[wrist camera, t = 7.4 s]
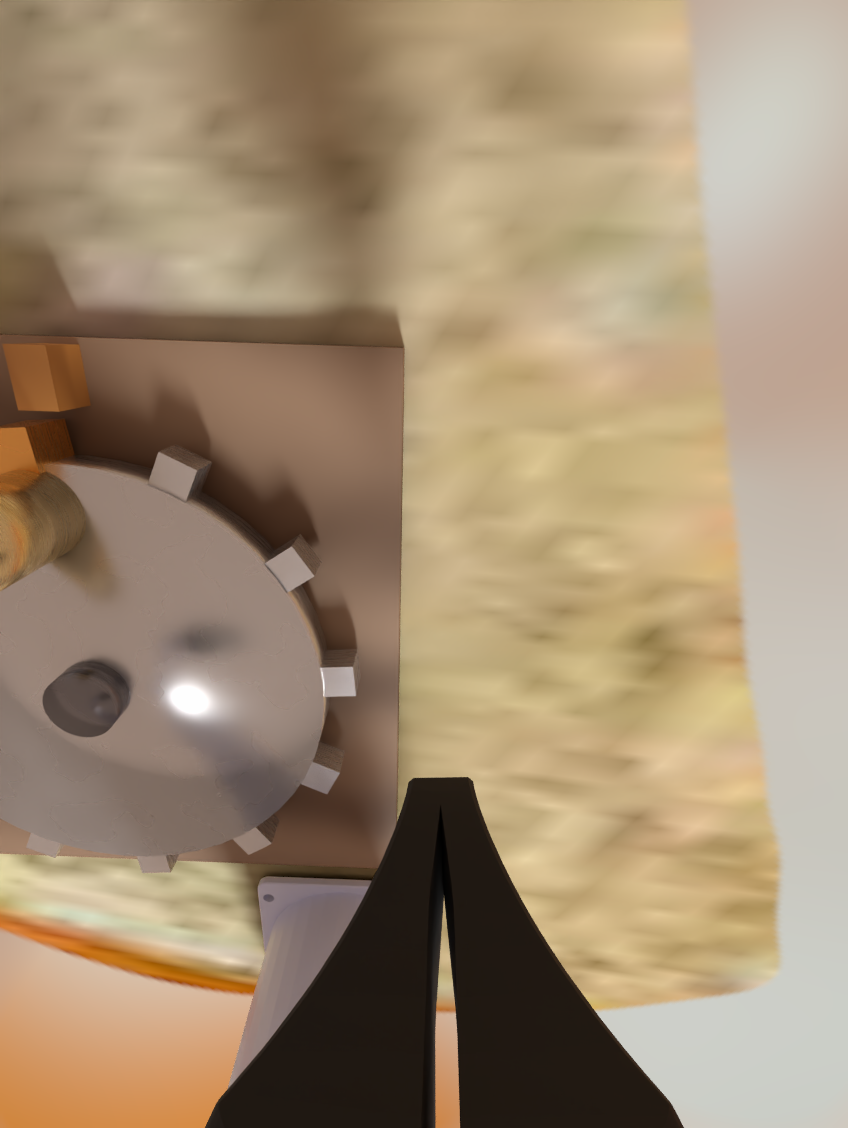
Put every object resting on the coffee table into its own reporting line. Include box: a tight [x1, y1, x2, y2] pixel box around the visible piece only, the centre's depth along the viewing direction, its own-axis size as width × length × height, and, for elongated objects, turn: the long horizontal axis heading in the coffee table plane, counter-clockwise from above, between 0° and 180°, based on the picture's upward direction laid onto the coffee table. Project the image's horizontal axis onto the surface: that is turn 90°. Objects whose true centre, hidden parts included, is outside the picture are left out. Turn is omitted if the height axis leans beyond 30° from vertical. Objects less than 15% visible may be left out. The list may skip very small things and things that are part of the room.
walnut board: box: [0, 334, 405, 868], centre depth 21 cm, size 22×21×2 cm
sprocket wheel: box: [0, 419, 360, 873], centre depth 18 cm, size 18×18×6 cm
